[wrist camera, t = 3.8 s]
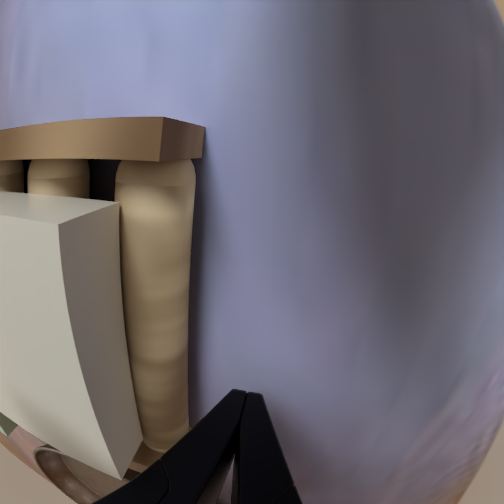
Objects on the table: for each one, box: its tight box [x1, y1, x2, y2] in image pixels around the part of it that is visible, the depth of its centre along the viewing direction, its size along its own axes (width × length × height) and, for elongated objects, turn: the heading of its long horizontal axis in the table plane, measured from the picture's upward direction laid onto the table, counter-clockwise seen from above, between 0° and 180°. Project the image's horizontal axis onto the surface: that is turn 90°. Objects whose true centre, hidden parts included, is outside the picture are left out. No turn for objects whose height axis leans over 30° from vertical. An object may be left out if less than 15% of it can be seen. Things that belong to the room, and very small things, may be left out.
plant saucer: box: [33, 444, 140, 504], centre depth 17 cm, size 18×18×3 cm
